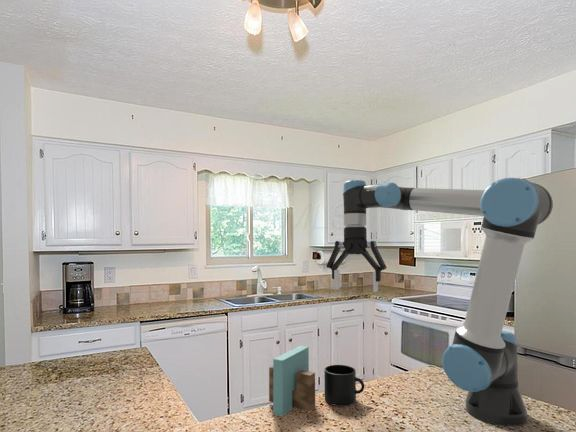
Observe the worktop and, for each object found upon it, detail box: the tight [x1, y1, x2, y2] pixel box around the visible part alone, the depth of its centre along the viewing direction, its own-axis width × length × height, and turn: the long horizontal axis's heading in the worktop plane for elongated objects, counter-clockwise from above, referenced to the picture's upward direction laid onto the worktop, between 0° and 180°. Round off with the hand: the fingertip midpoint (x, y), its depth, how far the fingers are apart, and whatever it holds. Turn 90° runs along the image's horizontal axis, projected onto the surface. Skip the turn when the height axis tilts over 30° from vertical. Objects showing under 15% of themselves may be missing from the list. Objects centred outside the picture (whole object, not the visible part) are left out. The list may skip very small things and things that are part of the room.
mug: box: [323, 364, 365, 407], centre depth 118 cm, size 9×12×9 cm
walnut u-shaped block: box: [268, 365, 316, 412], centre depth 115 cm, size 14×3×10 cm, turn 59°
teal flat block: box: [272, 345, 310, 417], centre depth 115 cm, size 16×3×15 cm, turn 150°
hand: (355, 290), depth 129 cm, fingers open, 13 cm apart
